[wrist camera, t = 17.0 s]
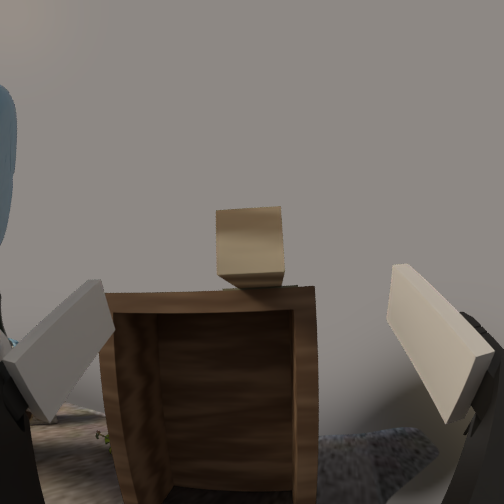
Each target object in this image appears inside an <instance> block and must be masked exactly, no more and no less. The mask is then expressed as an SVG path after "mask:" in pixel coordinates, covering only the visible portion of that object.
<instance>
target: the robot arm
mask: <svg viewBox="0 0 504 504" xmlns="http://www.w3.org/2000/svg"><path fill="white" fill-rule="evenodd" d="M16 143H17V118H16V109H15V104H14V102H13V100H12V97H11V96H10V94H9V92H8V91H7V89H5V88H4V87H3V86H1V85H0V245H1V243H2V241H3V238H4V235H5V231H6V227H7V223H8V218H9V212H10V205H11V198H12V188H13V181H12V180H13V179H12V178H13V174H14V170H15V160H16ZM386 320H387V322H388V324H389V325H390V327H391V328H392V330H393V332H394V333H395V335H396V337H397V338H398V340H399V342H400V343H401V345H402V346H403V348H404V350H405V351H406V353H407V355H408V357H409V358H410V360H411V362H412V363H413V365H414V367H415V369H416V370H417V372H418V374H419V376H420V378H421V379H422V381H423V383H424V385H425V386H426V388H427V390H428V392H429V394H430V396H431V397H432V399H433V401H434V403H435V405H436V407H437V409H438V411H439V413H440V414H441V416H442V418H443V420H444V422H445V424H449V423H452V422H454V421H457V420H460V419H463V418H464V417H465V416H466V414H467V412H468V410H469V408H470V406H472V407H473V409H474V411H475V412H476V413H475V415H474V417H473V418H472V420H471V422H470V424H469V425H468V427H467V429H466V431H465V432H464V435H466V434H467V433H468V435H467V438H466V441H465V445H464V448H463V451H462V453H461V456H460V459H459V462H458V465H457V468H456V470H455V473H454V475H453V478H452V480H451V483H450V485H449V487H448V490H447V492H446V494H445V497H444V499H443V501H442V503H441V504H504V349H503V348H502V347H501V346H500V345H499V344H498V343H497V342H496V340H495V339H494V338H493V337H492V336H491V335H490V334H489V333H487V331H486V330H485V329H484V328H483V327H481V325H480V324H479V323H478V322H477V321H476V320H475V319H474V318H473V317H471V316H469V315H467V314H466V313H464V312H458V311H457V310H456V309H455V308H454V307H453V306H452V305H451V304H450V303H449V302H448V301H447V300H446V299H445V298H444V297H443V296H442V295H441V294H440V293H439V292H438V291H437V290H436V289H435V288H434V287H433V286H431V284H430V283H428V282H427V281H426V280H425V279H424V278H423V277H422V276H421V275H420V274H419V273H418V272H417V271H415V270H414V269H413V268H412V267H411V266H410V265H409V264H399V265H398V264H397V265H393V268H392V278H391V287H390V296H389V303H388V311H387V317H386ZM114 331H115V327H114V324H113V320H112V317H111V314H110V310H109V307H108V303H107V300H106V296H105V293H104V289H103V285H102V281H101V280H88V281H86V282H85V283H84V284H83V285H82V286H81V287H80V288H78V289H77V290H76V291H75V292H74V293H72V294H71V295H70V296H69V297H68V298H67V299H65V300H64V301H63V302H62V303H61V304H60V305H59V306H58V307H56V308H55V309H54V310H53V311H52V312H51V313H50V314H49V315H48V316H47V317H46V318H44V319H43V320H42V321H41V322H40V323H39V324H38V325H37V326H36V327H35V328H34V329H32V330H31V331H30V332H29V333H28V334H27V335H26V336H25V337H24V338H23V339H22V340H21V341H20V342H18V341H17V340H13V339H10V338H8V339H7V337H6V336H5V334H4V333H3V332H2V331H1V330H0V504H45V501H44V498H43V494H42V490H41V486H40V481H39V477H38V472H37V468H36V462H35V457H34V451H33V445H32V438H31V431H30V422H29V418H28V416H27V414H26V413H25V411H26V410H27V409H28V407H29V408H30V410H31V411H32V413H33V414H34V416H35V417H36V418H37V419H40V420H43V421H46V422H49V423H50V422H51V421H52V419H53V418H54V416H55V415H56V413H57V412H58V410H59V409H60V407H61V406H62V404H63V403H64V401H65V400H66V398H67V397H68V395H69V394H70V392H71V391H72V389H73V388H74V387H75V385H76V384H77V382H78V381H79V379H80V378H81V376H82V375H83V374H84V372H85V370H86V369H87V368H88V367H89V365H90V363H91V362H92V361H93V360H94V358H95V357H96V355H97V354H98V353H99V351H100V350H101V349H102V347H103V346H104V344H105V343H106V342H107V340H108V339H109V338H110V336H111V335H112V334H113V332H114Z"/></svg>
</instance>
